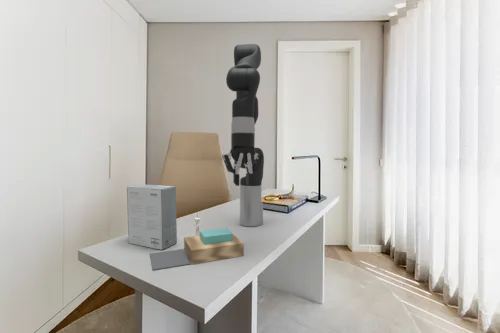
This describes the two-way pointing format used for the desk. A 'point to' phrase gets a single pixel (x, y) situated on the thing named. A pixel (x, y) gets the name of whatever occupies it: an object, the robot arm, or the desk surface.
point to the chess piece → (197, 225)
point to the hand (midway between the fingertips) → (242, 184)
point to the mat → (168, 259)
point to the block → (216, 236)
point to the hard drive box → (152, 215)
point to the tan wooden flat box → (212, 249)
